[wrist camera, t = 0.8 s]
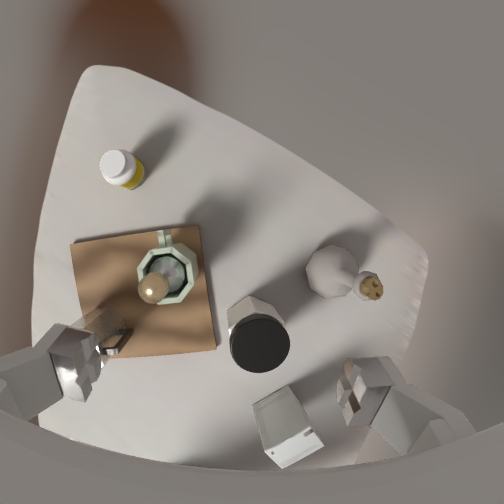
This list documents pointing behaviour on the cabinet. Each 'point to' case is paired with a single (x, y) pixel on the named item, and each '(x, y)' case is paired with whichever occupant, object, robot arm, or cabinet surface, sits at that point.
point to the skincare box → (285, 428)
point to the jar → (257, 335)
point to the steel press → (106, 330)
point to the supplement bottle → (122, 169)
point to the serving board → (132, 305)
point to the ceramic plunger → (161, 279)
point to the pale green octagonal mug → (175, 251)
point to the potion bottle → (340, 275)
